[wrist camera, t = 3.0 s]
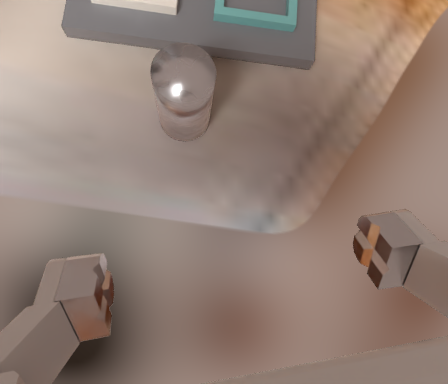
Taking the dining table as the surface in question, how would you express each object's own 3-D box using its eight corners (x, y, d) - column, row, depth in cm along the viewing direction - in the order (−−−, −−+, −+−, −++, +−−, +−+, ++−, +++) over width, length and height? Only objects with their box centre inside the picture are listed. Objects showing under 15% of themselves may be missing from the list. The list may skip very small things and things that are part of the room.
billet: (206, 144, 31) (213, 106, 23) (157, 138, 31) (146, 98, 23) (211, 98, 32) (219, 47, 24) (162, 92, 32) (154, 38, 24)
